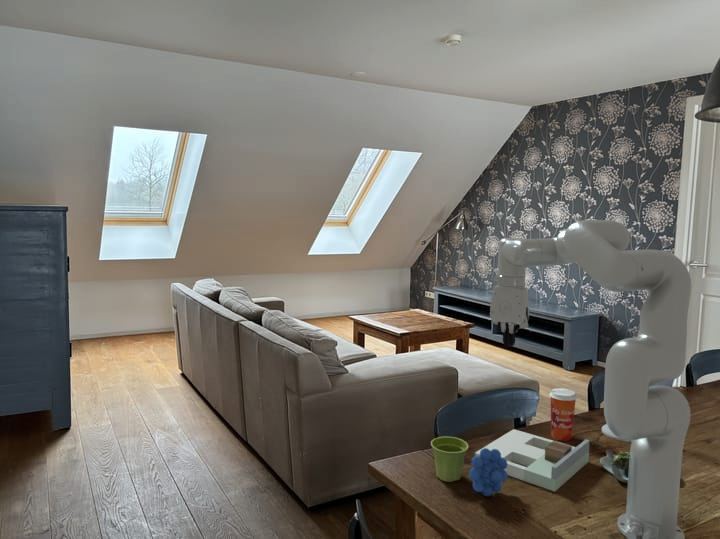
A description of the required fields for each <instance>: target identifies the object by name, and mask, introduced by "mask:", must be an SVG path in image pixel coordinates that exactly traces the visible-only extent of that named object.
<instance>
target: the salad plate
mask: <svg viewBox="0 0 720 539" xmlns="http://www.w3.org/2000/svg"><path fill="white" fill-rule="evenodd" d="M605 454H606V456H602V457H600V459H599V464H600V466H601V467H602V468H603V469H604V470H606V471H607V472H608V473H610V474H611V475H612V476H613V477H614V478H615V479H616V480H618V481H619V482H621V483H622V484H625V485H627V486H628V473H629V457H630V451H629V452H627V451H626V452H623V451H622V450H619V454H614V451H613V450H612V449H606V450H605Z"/></svg>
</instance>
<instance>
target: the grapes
mask: <svg viewBox="0 0 720 539" xmlns="http://www.w3.org/2000/svg"><path fill="white" fill-rule="evenodd" d="M483 448H484V447H483ZM481 449H482V448H481ZM471 465H472V467H473V468H471V469H470V470H469V471H468V477H469V478H470V480H471V481H472V488H473V490H474V491H476V493H482V495H483V496H484V497H490V496H492V495H493V492H494V493H499V492H501V491H502V489H503V482H506V481H507V480H508V478H509V477H508V476H509V475H507V472H506V471H505V470H504V469H506V467H507V461H506V459H505V458H503V457H501V453H500V451H499V450H497V449H492V450H491V451H490V450H489V449H487V448H484V449H482V450H481V451H480V456H475V455H474V456H473V457H472V458H471Z"/></svg>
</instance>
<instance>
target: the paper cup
mask: <svg viewBox="0 0 720 539" xmlns="http://www.w3.org/2000/svg"><path fill="white" fill-rule="evenodd" d="M549 397H550V434H551V436H550V437H551V438H552V437H553V438H552V439H554V440H556V439H557V440H556V441H561V442H568V441H570V439H571V440H572V434H573V428H574V427H573V426H574V420H575V419H574V417H575V408H576V400H577V399H578V396H577V393H576V392H575V391H574V390H571V389H567V388H562V387H561V388H553V389H551V391H550V393H549Z"/></svg>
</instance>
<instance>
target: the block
mask: <svg viewBox="0 0 720 539" xmlns="http://www.w3.org/2000/svg"><path fill="white" fill-rule="evenodd" d="M569 445H570V444H566V443H563V444H562V442H560V443H559V441H556V442H555V440H553V441H552V442H551V443H550V444H548V445H547V446H546V447H545V460H547V461H551V462H554V463H557V462H558V461H559V460H561V459H562V458H563V457H564V456H566V455H567V454H568V453H569V452H571V451H572V446H573V445H570V446H569Z"/></svg>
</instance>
